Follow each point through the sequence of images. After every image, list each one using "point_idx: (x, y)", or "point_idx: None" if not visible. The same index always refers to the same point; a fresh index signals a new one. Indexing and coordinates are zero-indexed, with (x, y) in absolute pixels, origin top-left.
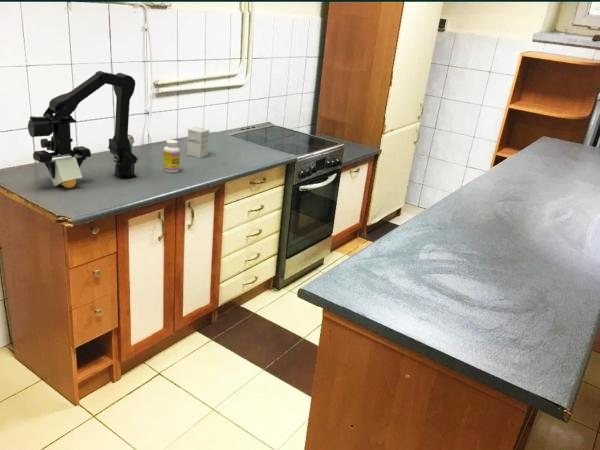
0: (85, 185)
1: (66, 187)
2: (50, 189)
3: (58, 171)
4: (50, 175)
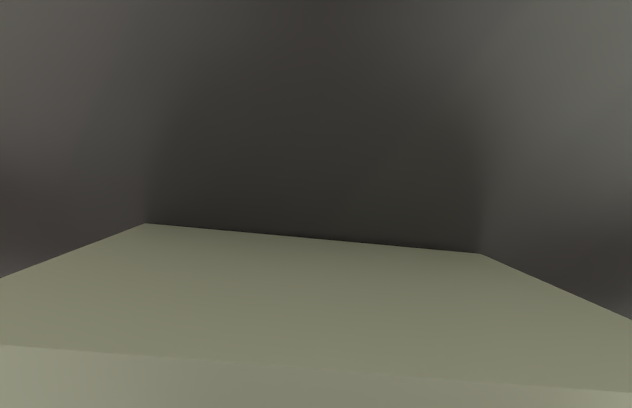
0: None
1: None
2: None
3: None
4: (64, 259)
